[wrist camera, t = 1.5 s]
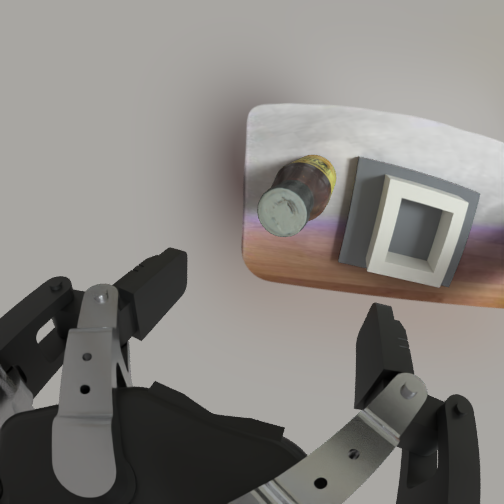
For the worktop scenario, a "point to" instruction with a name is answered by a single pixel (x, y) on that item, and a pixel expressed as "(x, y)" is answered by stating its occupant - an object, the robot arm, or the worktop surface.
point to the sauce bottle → (297, 195)
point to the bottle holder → (407, 223)
